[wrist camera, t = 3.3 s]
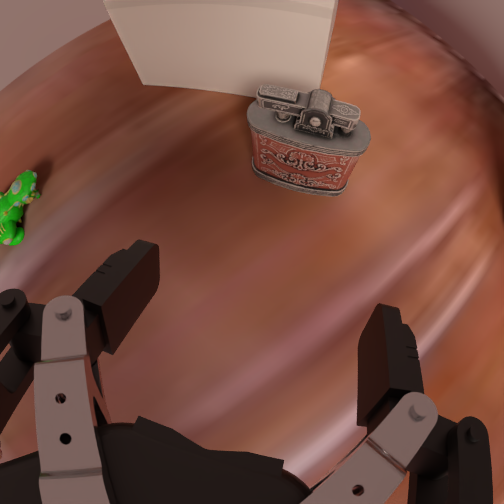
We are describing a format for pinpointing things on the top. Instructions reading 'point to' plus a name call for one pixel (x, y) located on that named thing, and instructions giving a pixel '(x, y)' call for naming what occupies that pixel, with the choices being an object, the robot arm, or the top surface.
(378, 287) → the top surface
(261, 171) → the lighter
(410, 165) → the top surface
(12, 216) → the green elongated figure
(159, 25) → the slot box
